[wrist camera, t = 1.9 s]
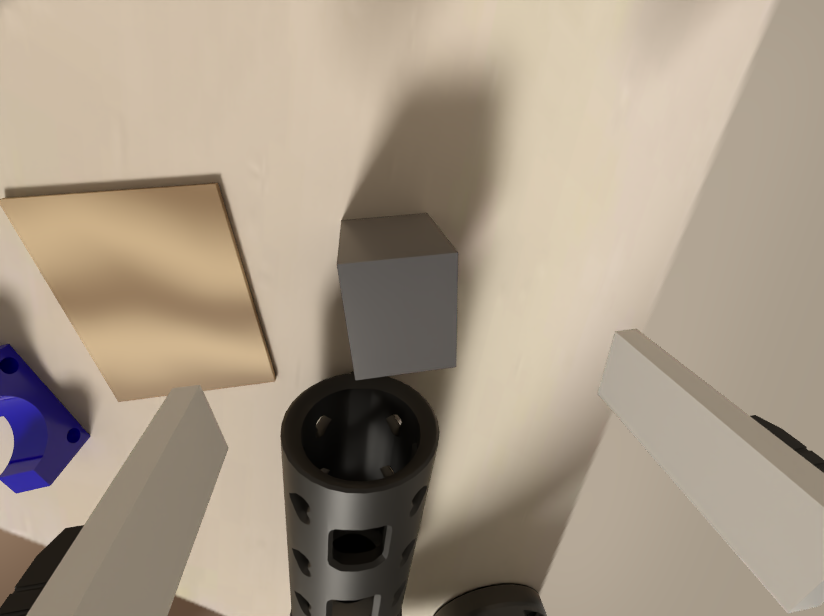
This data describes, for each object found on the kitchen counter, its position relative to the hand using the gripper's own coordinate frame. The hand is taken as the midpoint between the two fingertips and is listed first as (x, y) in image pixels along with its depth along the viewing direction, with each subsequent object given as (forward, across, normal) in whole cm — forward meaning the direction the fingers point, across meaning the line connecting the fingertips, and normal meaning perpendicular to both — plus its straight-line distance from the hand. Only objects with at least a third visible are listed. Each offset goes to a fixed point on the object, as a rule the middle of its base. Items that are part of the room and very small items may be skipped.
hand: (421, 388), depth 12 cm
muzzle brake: (+12, +5, +22) cm, 25 cm away
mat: (+12, +14, +2) cm, 18 cm away
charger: (+12, 0, 0) cm, 12 cm away
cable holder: (+12, +24, +7) cm, 28 cm away
